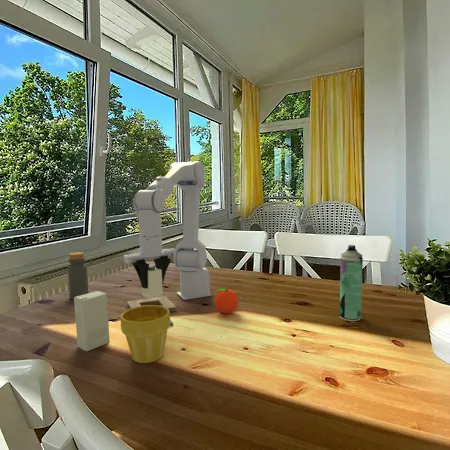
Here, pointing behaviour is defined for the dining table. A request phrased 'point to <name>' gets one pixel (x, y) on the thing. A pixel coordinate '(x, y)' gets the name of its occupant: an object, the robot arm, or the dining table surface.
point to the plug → (153, 283)
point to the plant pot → (146, 331)
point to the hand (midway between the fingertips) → (152, 285)
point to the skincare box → (91, 320)
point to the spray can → (351, 284)
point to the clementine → (226, 301)
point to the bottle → (77, 275)
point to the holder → (150, 301)
